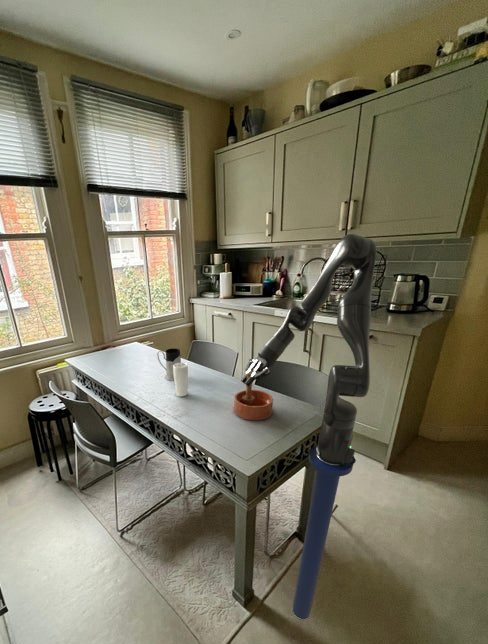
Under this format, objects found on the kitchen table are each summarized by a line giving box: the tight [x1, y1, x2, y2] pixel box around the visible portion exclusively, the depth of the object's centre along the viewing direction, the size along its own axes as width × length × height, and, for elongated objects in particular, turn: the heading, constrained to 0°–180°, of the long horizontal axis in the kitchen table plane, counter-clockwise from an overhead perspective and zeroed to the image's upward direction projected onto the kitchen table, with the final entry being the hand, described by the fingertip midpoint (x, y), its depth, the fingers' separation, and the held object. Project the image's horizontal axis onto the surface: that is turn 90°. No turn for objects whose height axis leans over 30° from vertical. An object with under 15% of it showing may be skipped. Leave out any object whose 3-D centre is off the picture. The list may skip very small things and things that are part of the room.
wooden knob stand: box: [242, 372, 255, 406], centre depth 131 cm, size 5×5×14 cm
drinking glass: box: [173, 362, 189, 397], centre depth 147 cm, size 7×7×15 cm
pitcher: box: [156, 347, 182, 382], centre depth 167 cm, size 9×14×15 cm, turn 60°
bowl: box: [233, 389, 274, 421], centre depth 132 cm, size 16×16×6 cm
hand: (244, 383), depth 129 cm, fingers closed on wooden knob stand
